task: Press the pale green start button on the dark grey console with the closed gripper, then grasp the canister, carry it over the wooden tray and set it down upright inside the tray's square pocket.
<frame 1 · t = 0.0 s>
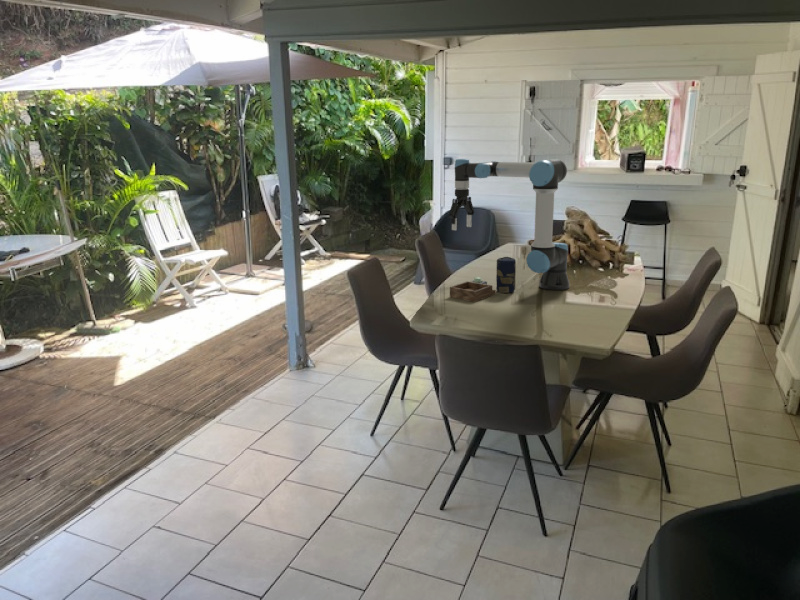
hand: (461, 228, 330), 28 cm above the table, fingers open, 13 cm apart
wooden tray: (472, 295, 303), on the table
start button: (477, 281, 315), point 4 cm above the table, slide at 0.0 cm
button console: (477, 288, 316), on the table
canister: (505, 292, 309), on the table
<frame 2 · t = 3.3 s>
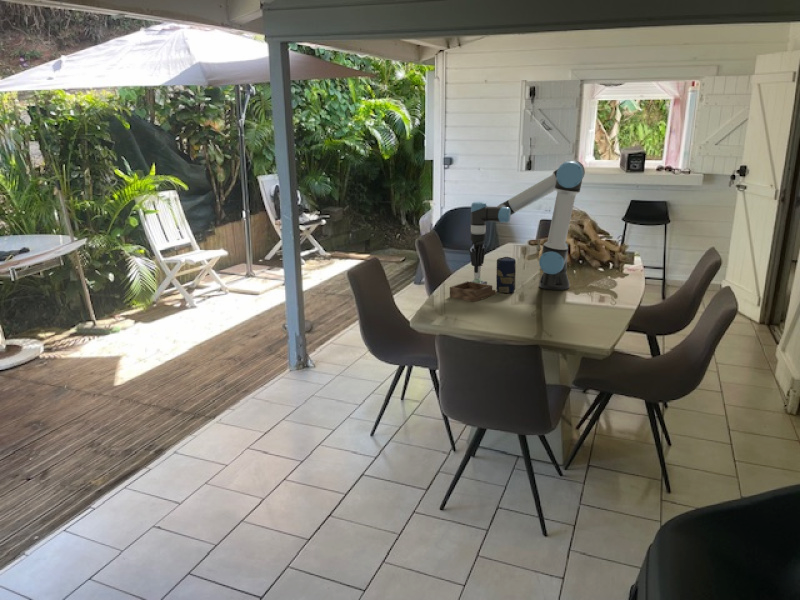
hand: (477, 278, 315), 5 cm above the table, fingers closed
start button: (477, 282, 315), point 3 cm above the table, slide at 0.4 cm, touching gripper
everything else where it was.
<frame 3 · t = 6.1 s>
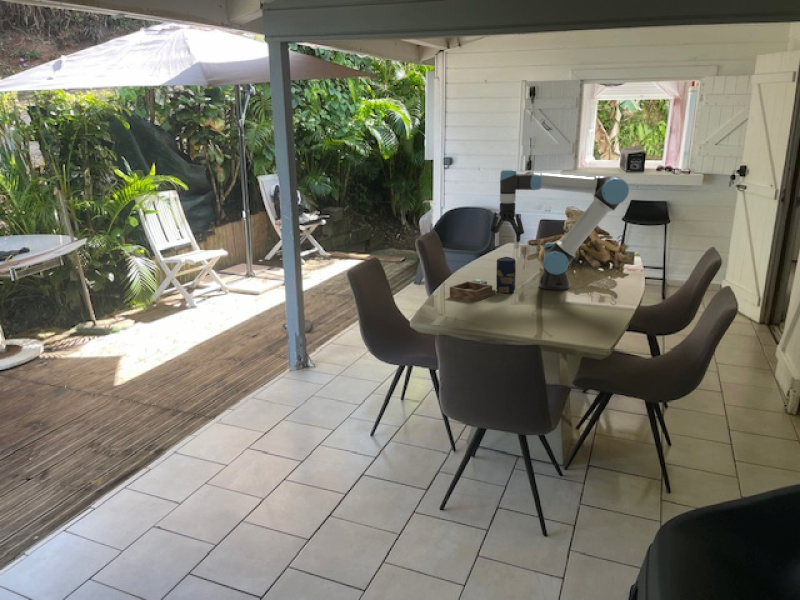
hand: (506, 247, 303), 23 cm above the table, fingers open, 10 cm apart
start button: (477, 283, 315), point 3 cm above the table, slide at 1.1 cm
everything else where it was.
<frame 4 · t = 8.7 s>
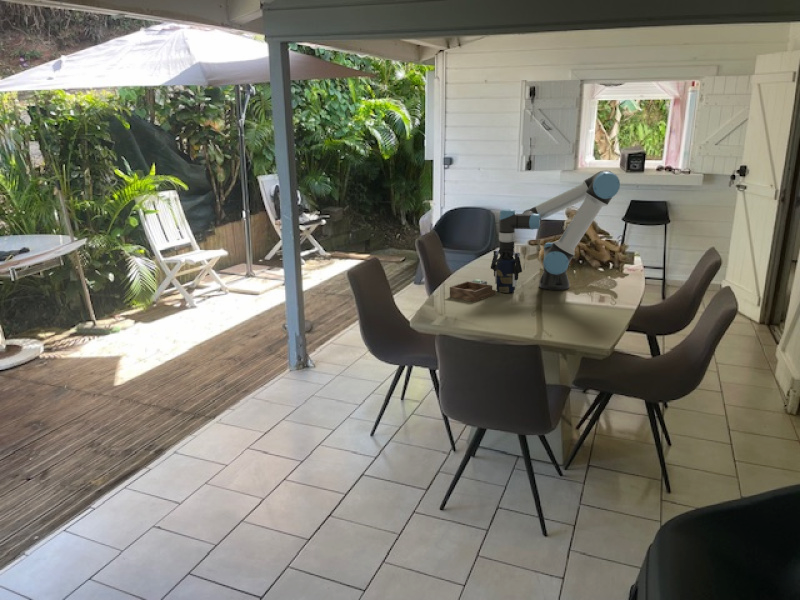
hand: (505, 284, 308), 4 cm above the table, fingers closed on canister, 9 cm apart
canister: (505, 291, 309), on the table, touching gripper
everything else where it was.
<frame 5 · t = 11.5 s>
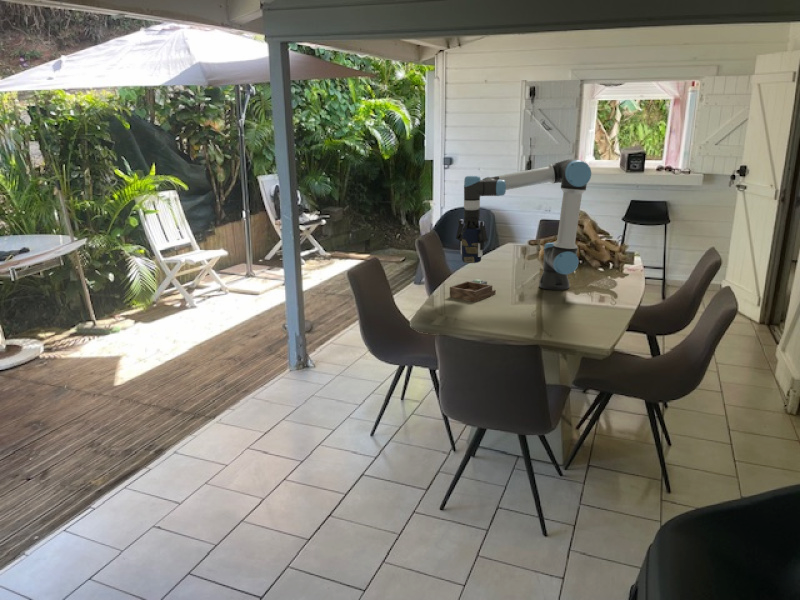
hand: (471, 255, 296), 21 cm above the table, fingers closed on canister, 9 cm apart
canister: (471, 262, 297), point 17 cm above the table, touching gripper
everything else where it was.
when the fingers open (8 cm above the table, at t = 14.4 s): canister drops 2 cm, resting on wooden tray.
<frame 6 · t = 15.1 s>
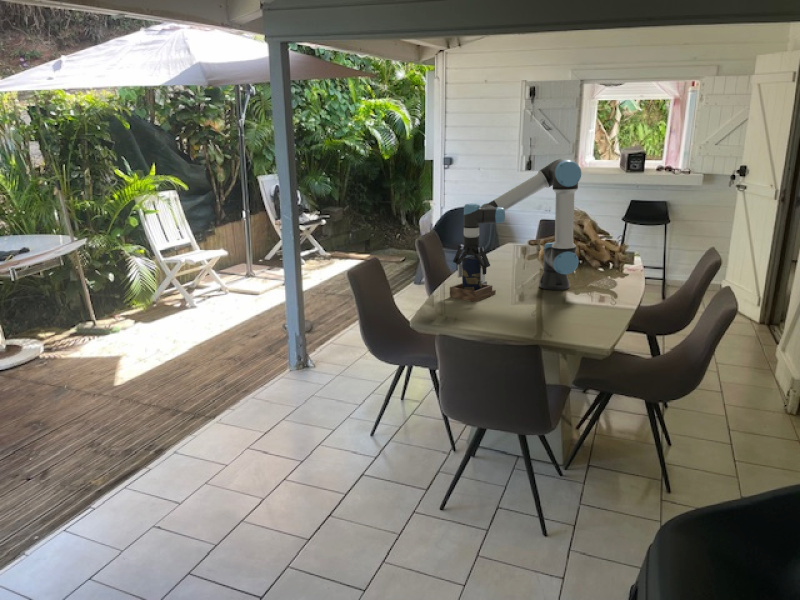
hand: (471, 279, 299), 9 cm above the table, fingers open, 13 cm apart
canister: (471, 292, 301), point 2 cm above the table, touching wooden tray
everything else where it was.
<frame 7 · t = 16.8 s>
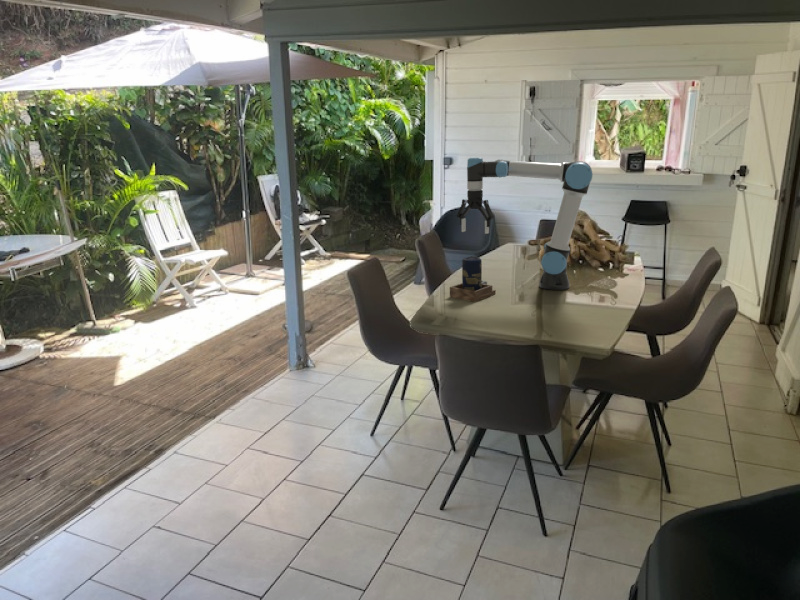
hand: (475, 232, 307), 30 cm above the table, fingers open, 13 cm apart
nothing on the table moved.
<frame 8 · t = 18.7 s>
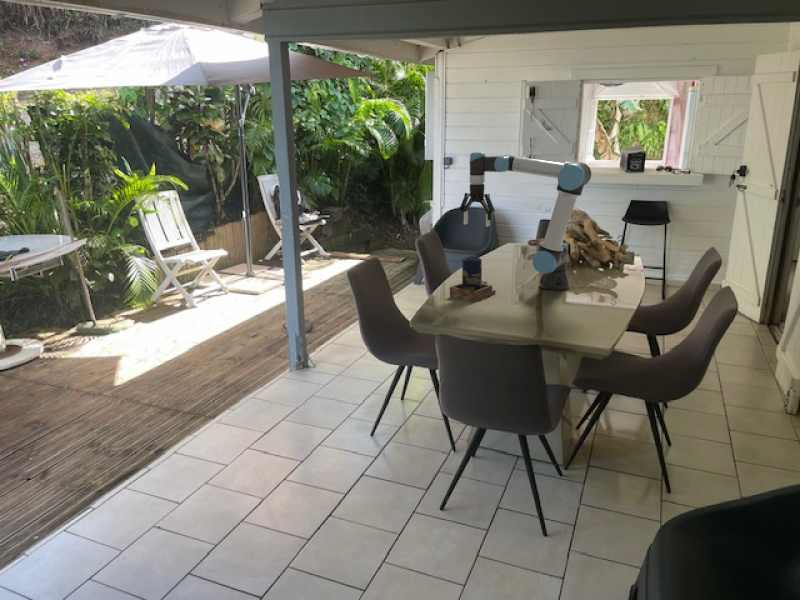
hand: (476, 225, 315), 32 cm above the table, fingers open, 13 cm apart
nothing on the table moved.
at the end: canister inside the target area on the wooden tray (0.4 cm from its centre), point 1.8 cm above the wooden tray's base; canister touching wooden tray; canister tilted 0° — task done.
